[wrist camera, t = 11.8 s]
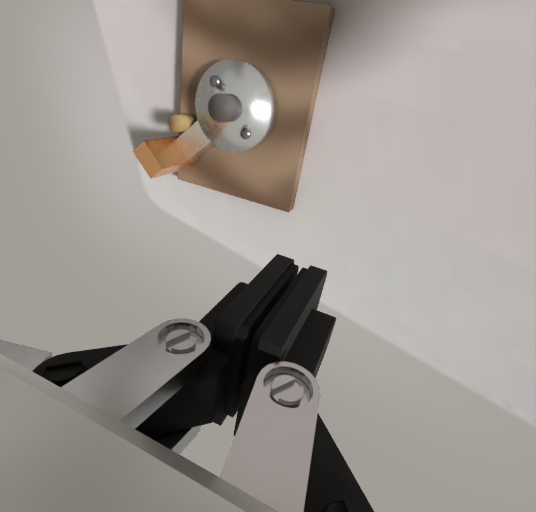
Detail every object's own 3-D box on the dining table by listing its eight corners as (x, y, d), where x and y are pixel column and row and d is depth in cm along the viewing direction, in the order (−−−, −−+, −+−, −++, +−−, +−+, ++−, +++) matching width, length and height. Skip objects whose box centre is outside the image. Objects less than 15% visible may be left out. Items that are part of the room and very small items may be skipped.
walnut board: (193, -8, 32) (155, -27, 28) (334, 9, 29) (317, -10, 24) (185, 176, 41) (154, 185, 36) (293, 208, 37) (274, 223, 32)
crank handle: (247, 40, 31) (211, 27, 25) (292, 120, 32) (266, 124, 27) (160, 124, 37) (117, 127, 32) (200, 187, 39) (165, 200, 33)
